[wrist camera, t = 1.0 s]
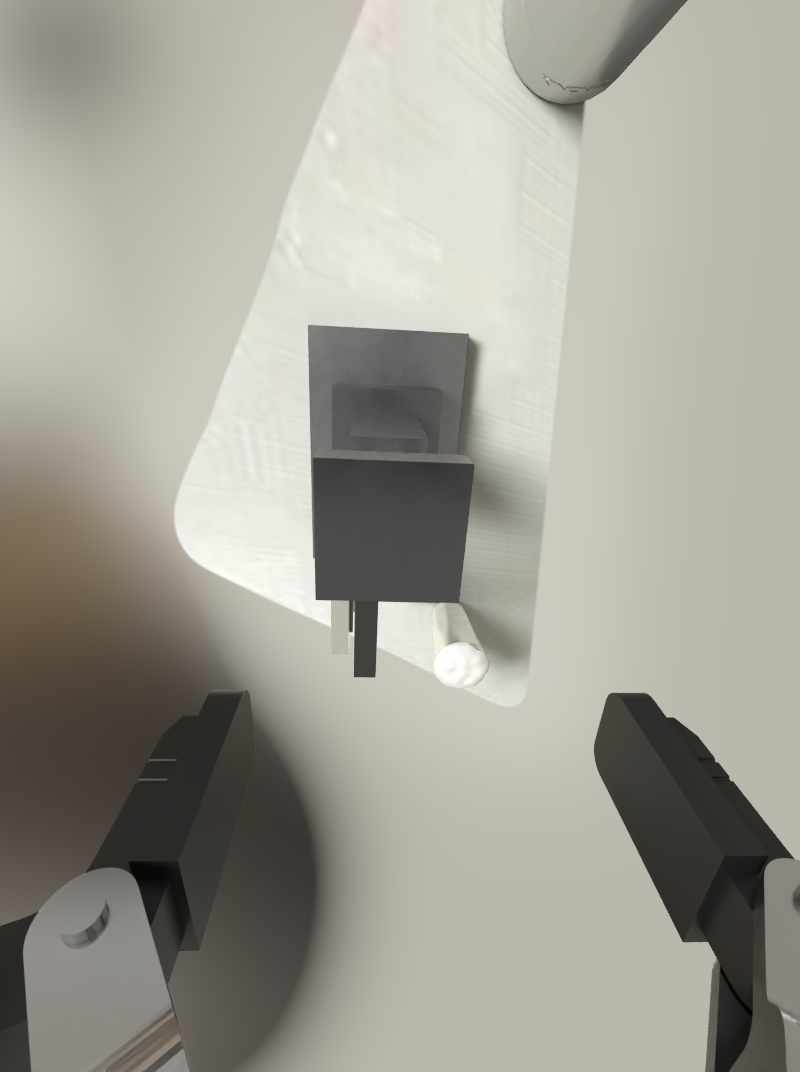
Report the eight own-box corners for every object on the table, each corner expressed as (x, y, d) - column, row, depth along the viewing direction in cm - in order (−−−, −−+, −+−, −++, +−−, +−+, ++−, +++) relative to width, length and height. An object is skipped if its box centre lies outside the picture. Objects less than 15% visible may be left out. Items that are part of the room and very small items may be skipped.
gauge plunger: (338, 414, 28) (312, 457, 17) (438, 418, 28) (474, 463, 17) (338, 572, 32) (317, 686, 21) (426, 574, 32) (449, 688, 21)
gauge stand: (310, 325, 36) (262, 313, 21) (465, 334, 37) (523, 327, 22) (315, 551, 43) (281, 659, 28) (444, 554, 44) (477, 662, 29)
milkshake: (480, 593, 45) (506, 656, 36) (461, 637, 47) (481, 708, 38) (436, 581, 45) (451, 643, 36) (419, 627, 47) (428, 697, 37)
